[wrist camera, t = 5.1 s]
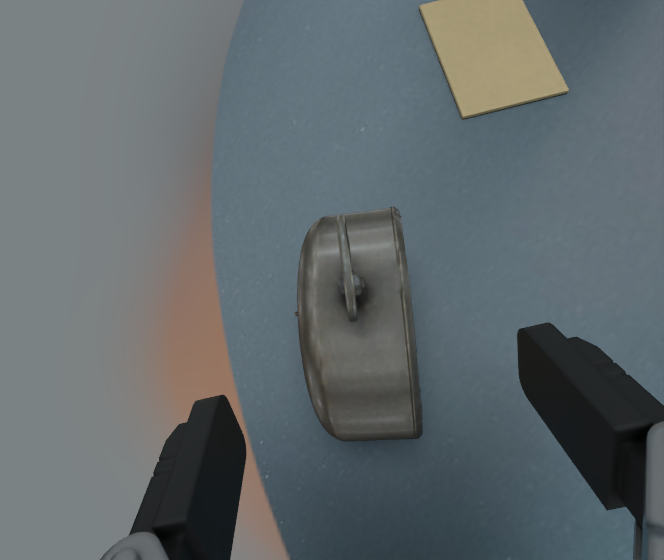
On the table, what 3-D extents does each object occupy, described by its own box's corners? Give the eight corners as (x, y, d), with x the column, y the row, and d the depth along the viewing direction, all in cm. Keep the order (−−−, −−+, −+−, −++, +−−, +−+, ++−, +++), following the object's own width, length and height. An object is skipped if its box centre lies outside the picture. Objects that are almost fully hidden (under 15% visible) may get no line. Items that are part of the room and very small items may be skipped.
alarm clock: (417, 433, 25) (472, 456, 9) (327, 437, 25) (241, 465, 10) (399, 262, 28) (418, 76, 13) (321, 268, 29) (250, 98, 13)
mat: (462, 119, 31) (462, 116, 31) (418, 8, 35) (419, 5, 35) (567, 93, 31) (569, 90, 31) (511, -16, 35) (512, -20, 35)
